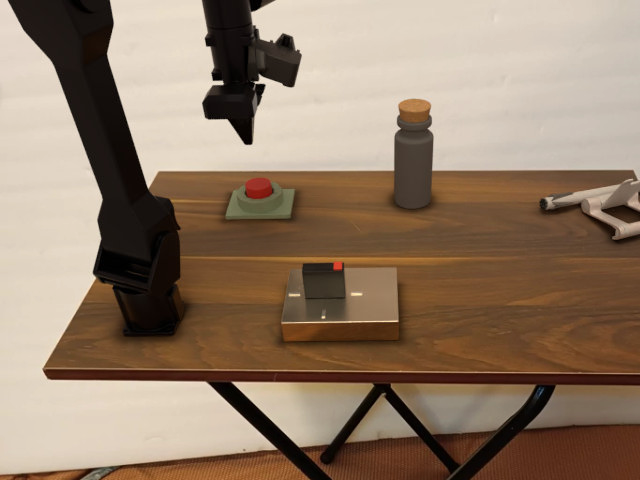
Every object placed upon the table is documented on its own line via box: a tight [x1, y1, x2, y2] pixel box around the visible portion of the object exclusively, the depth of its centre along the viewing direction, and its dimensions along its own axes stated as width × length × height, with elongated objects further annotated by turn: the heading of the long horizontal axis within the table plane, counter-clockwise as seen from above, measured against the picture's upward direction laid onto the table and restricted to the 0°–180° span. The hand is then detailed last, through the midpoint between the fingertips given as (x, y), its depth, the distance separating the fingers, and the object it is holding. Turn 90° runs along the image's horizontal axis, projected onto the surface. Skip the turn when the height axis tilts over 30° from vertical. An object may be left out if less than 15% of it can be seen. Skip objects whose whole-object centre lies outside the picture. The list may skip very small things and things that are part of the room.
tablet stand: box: [580, 178, 640, 241], centre depth 94 cm, size 9×8×8 cm
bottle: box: [393, 98, 435, 210], centre depth 95 cm, size 6×6×15 cm
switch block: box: [224, 181, 296, 220], centre depth 99 cm, size 10×8×2 cm
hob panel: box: [280, 266, 400, 342], centre depth 80 cm, size 14×11×3 cm
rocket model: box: [538, 180, 640, 211], centre depth 99 cm, size 2×2×30 cm
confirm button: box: [244, 177, 272, 199], centre depth 98 cm, size 4×4×2 cm
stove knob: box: [301, 260, 346, 298], centre depth 77 cm, size 5×2×4 cm, turn 90°
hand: (249, 144), depth 90 cm, fingers closed
